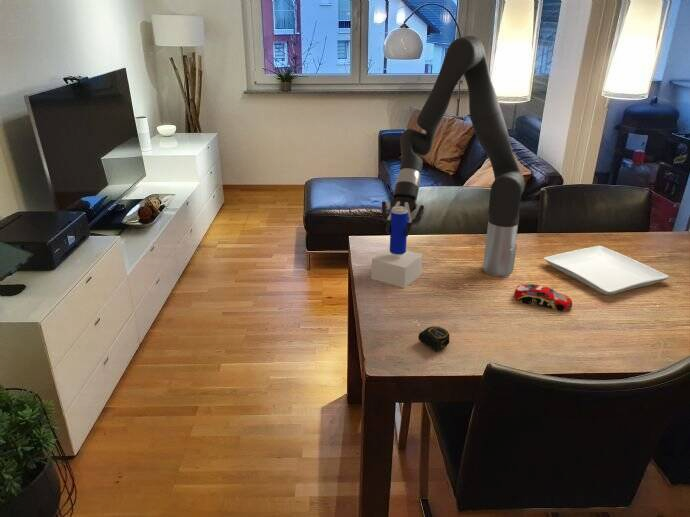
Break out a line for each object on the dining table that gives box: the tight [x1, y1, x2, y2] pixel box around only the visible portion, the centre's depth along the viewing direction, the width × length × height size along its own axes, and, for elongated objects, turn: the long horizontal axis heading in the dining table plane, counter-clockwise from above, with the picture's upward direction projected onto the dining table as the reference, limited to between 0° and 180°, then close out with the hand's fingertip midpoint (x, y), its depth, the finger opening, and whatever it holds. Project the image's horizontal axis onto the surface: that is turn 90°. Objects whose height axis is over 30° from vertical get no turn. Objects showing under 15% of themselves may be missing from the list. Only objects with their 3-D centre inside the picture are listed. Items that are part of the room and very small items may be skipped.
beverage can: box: [389, 206, 408, 256], centre depth 165 cm, size 5×5×15 cm
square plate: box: [543, 245, 670, 296], centre depth 172 cm, size 27×27×4 cm
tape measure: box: [418, 325, 450, 352], centre depth 135 cm, size 7×7×4 cm
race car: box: [513, 283, 573, 313], centre depth 155 cm, size 16×7×5 cm, turn 62°
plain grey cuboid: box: [370, 246, 424, 289], centre depth 170 cm, size 12×12×7 cm
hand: (397, 234), depth 163 cm, fingers closed on beverage can, 5 cm apart
